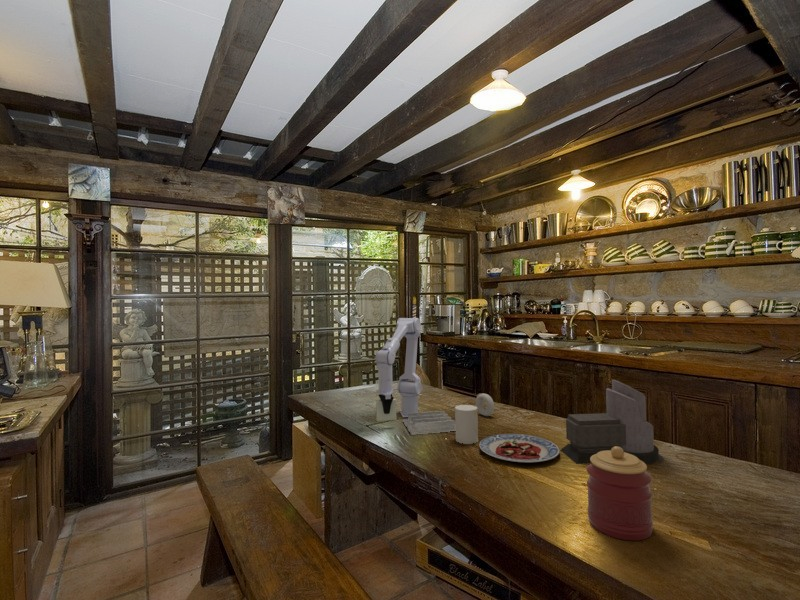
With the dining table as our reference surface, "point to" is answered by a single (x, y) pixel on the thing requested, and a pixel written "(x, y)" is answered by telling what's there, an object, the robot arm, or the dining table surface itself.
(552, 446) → the ceramic plate
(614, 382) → the grey napkin holder
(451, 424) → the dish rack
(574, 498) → the dining table surface
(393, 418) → the grey rectangular block
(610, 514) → the canister
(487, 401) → the donut
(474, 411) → the white cylinder
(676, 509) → the dining table surface
